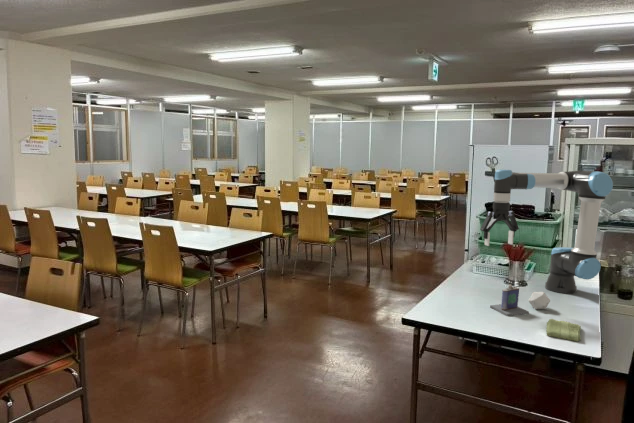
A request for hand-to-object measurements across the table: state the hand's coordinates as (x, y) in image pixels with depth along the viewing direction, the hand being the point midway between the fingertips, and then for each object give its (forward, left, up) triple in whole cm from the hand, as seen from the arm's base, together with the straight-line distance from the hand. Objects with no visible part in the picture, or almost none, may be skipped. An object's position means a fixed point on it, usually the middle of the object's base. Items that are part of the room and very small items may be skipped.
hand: (498, 244), depth 228 cm
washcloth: (-3, +40, -29) cm, 50 cm away
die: (-14, +14, -29) cm, 35 cm away
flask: (+2, +13, -28) cm, 31 cm away
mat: (+2, +13, -29) cm, 32 cm away
